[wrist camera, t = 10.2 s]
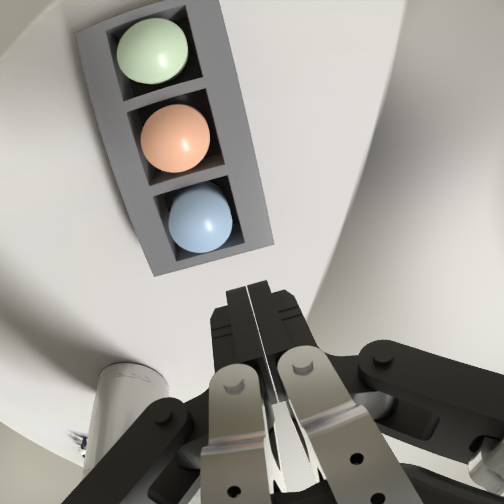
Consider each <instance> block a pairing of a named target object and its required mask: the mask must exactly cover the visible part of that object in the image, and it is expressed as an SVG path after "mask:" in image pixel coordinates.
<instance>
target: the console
mask: <svg viewBox="0 0 504 504" xmlns="http://www.w3.org/2000/svg"><path fill="white" fill-rule="evenodd" d="M151 18H161V19H166V20H169V21H171V22H172V21H176V20H180V19H184V18H188V22H189V26H190V30H191V34H192V38H193V42H194V47H195V51H196V55H197V59H198V63H199V67H200V71H201V75H202V78H198V79H194V80H190V81H187V82H183V83H179V84H176V85H172V86H169V87H166V88H163V89H159V90H156V91H153V92H150V93H147V94H144V95H141V96H138V97H135V98H134V97H133V93H132V89H131V86H130V82H129V78H128V77H127V76H126V75H125V74H124V73H123V72H122V70H121V69H120V67H119V64H118V61H117V48H118V45H119V39H120V38H122V36H123V35H124V34H125V32H126V31H127V30H128V29H129V28H131V27H132V26H133V25H135V24H136V23H138V22H140V21H143V20H146V19H151ZM75 37H76V42H77V46H78V51H79V55H80V60H81V64H82V68H83V72H84V76H85V80H86V84H87V88H88V91H89V95H90V99H91V102H92V106H93V110H94V113H95V116H96V120H97V123H98V127H99V130H100V133H101V136H102V140H103V143H104V146H105V149H106V152H107V155H108V158H109V161H110V164H111V167H112V170H113V173H114V176H115V179H116V182H117V184H118V187H119V190H120V193H121V196H122V198H123V201H124V204H125V206H126V209H127V212H128V214H129V217H130V220H131V222H132V225H133V227H134V230H135V232H136V235H137V237H138V240H139V242H140V245H141V247H142V250H143V252H144V254H145V257H146V259H147V261H148V264H149V266H150V269H151V271H152V273H153V275H154V277H156V276H159V275H163V274H167V273H170V272H174V271H178V270H182V269H185V268H189V267H193V266H196V265H200V264H204V263H208V262H211V261H215V260H219V259H222V258H226V257H230V256H234V255H237V254H241V253H245V252H249V251H252V250H256V249H260V248H264V247H267V246H271V245H274V240H273V235H272V230H271V226H270V221H269V216H268V211H267V206H266V202H265V197H264V192H263V188H262V183H261V178H260V174H259V169H258V165H257V160H256V155H255V151H254V146H253V142H252V137H251V133H250V129H249V124H248V120H247V115H246V111H245V107H244V102H243V98H242V94H241V89H240V85H239V81H238V77H237V72H236V68H235V64H234V60H233V56H232V52H231V47H230V43H229V39H228V35H227V31H226V27H225V23H224V19H223V15H222V11H221V7H220V3H219V0H164V1H160V2H157V3H153V4H150V5H147V6H144V7H141V8H137V9H134V10H132V11H129V12H126V13H123V14H120V15H118V16H115V17H112V18H110V19H107V20H105V21H102V22H100V23H97V24H95V25H93V26H90V27H88V28H86V29H83V30H81V31H79V32H77V33H75ZM203 89H205V91H206V95H207V99H208V103H209V107H210V111H211V115H212V119H213V123H214V127H215V131H216V135H217V138H218V142H219V146H220V150H221V154H219V155H215V156H211V157H208V158H204V159H202V160H201V161H200V162H199V163H198V164H197V165H196V166H194V167H193V168H191V169H189V170H186V171H183V172H176V173H174V172H166V171H160V172H156V171H155V168H154V166H153V165H152V164H151V163H150V162H149V161H148V160H147V158H146V157H145V155H144V153H143V150H142V147H141V133H142V130H143V129H142V125H141V122H140V118H139V115H138V111H137V109H139V108H142V107H145V106H148V105H151V104H154V103H157V102H161V101H164V100H167V99H170V98H174V97H177V96H181V95H184V94H188V93H191V92H195V91H199V90H203ZM226 175H227V178H228V182H229V186H230V190H231V194H232V198H233V202H234V205H235V209H236V213H237V217H238V221H239V223H236V224H233V225H232V229H231V233H230V235H229V237H228V239H227V240H226V241H225V242H224V243H223V244H222V245H221V246H220V247H218V248H217V249H215V250H212V251H209V252H205V253H195V252H191V251H188V250H185V249H183V248H182V247H180V246H179V245H178V244H177V243H176V242H175V241H174V240H173V238H172V236H171V234H170V231H169V216H170V214H169V211H168V208H167V205H166V202H165V199H164V196H163V193H166V192H169V191H172V190H176V189H179V188H183V187H186V186H190V185H193V184H197V183H200V182H204V181H207V180H211V179H215V178H219V177H222V176H226Z"/></svg>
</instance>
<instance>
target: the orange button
mask: <svg viewBox="0 0 504 504" xmlns="http://www.w3.org/2000/svg"><path fill="white" fill-rule="evenodd" d="M209 143H210V133H209V128H208V125H207V122H206V119H205V117H204V116H203V114H202V113H201V112H200V111H199V110H197V109H196V108H194V107H193V106H190V105H187V104H172V105H169V106H166V107H164V108H161V109H159V110H158V111H156V112H155V113H153V114H152V115H151V116H150V117H149V119H148V120H147V121H146V123H145V125H144V127H143V130H142V133H141V147H142V150H143V153H144V155H145V157H146V158H147V160H148V161H149V162H150V163H151V164H152V165H153V166H155V167H156V168H158V169H160V170H162V171H166V172H174V173H176V172H183V171H186V170H189V169H191V168H193V167H194V166H196V165H197V164H198V163H199V162H200V161H201V160H202V159H203V157H204V156H205V154H206V152H207V150H208V147H209Z"/></svg>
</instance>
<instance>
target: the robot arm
mask: <svg viewBox="0 0 504 504" xmlns="http://www.w3.org/2000/svg"><path fill="white" fill-rule="evenodd" d="M247 287H248V291H249V295H250V299H251V302H252V306H253V310H254V313H255V317H256V321H257V325H258V328H259V332H260V336H261V339H262V343H263V347H264V351H265V354H266V358H267V361H268V365H269V368H270V371H271V375H272V378H273V382H274V385H275V388H276V392H277V395H278V399H279V402H282V401H286V404H287V407H288V410H289V413H290V417H291V421H292V424H293V426H294V428H295V431H296V433H297V436H298V438H299V441H300V443H301V446H302V448H303V450H304V453H305V455H306V458H307V460H308V463H309V465H310V467H311V470H312V473H313V476H314V479H315V482H316V484H315V485H313V486H311V487H309V488H307V489H306V490H303V491H300V492H287V488H286V484H285V480H284V476H283V471H282V466H281V459H280V453H279V446H278V441H277V434H276V428H275V423H274V421H275V418H274V413H273V409H272V406H271V405H272V404H276V403H277V399H276V395H275V392H274V388H273V384H272V381H271V377H270V373H269V370H268V366H267V362H266V358H265V355H264V351H263V347H262V344H261V340H260V336H259V332H258V329H257V325H256V322H255V318H254V315H253V311H252V308H251V304H250V301H249V297H248V294H247V290H246V287H245V286H244V287H240V288H236V289H232V290H229V291H226V297H227V303H228V305H227V306H223V307H219V308H215V310H214V312H213V314H212V316H211V318H210V324H211V336H212V347H213V358H214V368H215V374H214V376H213V377H212V379H211V380H210V384H209V388H208V389H207V390H206V391H205V392H204V393H202V394H201V395H199V396H197V397H195V398H193V399H191V400H189V401H187V402H185V403H183V402H182V401H180V400H178V399H176V398H172V397H169V389H168V384H167V382H166V380H165V379H164V378H163V377H162V376H161V375H160V374H158V373H157V372H156V371H154V370H152V369H150V368H148V367H145V366H142V365H138V364H132V363H118V364H113V365H110V366H108V367H106V368H105V369H104V370H103V371H102V372H101V374H100V377H99V381H98V386H97V391H96V396H95V400H94V405H93V411H92V416H91V422H90V428H89V434H88V440H87V446H86V453H85V461H84V469H83V478H82V481H81V482H80V484H79V485H78V486H77V487H76V488H75V489H74V490H73V491H72V492H71V494H70V495H69V496H68V497H67V498H66V499H65V500H64V501H63V502H62V503H61V504H188V503H189V502H190V501H191V499H192V498H193V497H194V495H195V494H196V493H197V491H198V490H199V489H200V496H201V504H504V375H502V374H499V373H495V372H492V371H489V370H485V369H482V368H478V367H475V366H471V365H468V364H465V363H461V362H458V361H454V360H451V359H448V358H445V357H441V356H438V355H435V354H432V353H428V352H425V351H422V350H419V349H416V348H413V347H410V346H406V345H403V344H400V343H397V342H394V341H391V340H377V341H373V342H371V343H369V344H367V345H366V346H365V347H363V348H362V350H361V351H360V353H359V355H356V356H333V355H330V354H327V353H325V352H323V351H322V350H321V349H320V348H319V347H318V346H317V344H316V342H315V340H314V338H313V336H312V333H311V331H310V329H309V327H308V325H307V323H306V320H305V318H304V316H303V315H302V312H301V310H300V308H299V305H298V303H297V301H296V299H295V297H294V296H293V295H292V294H290V293H289V292H287V291H286V290H281V291H278V292H274V293H271V290H270V288H269V285H268V282H267V280H265V281H261V282H258V283H254V284H251V285H247ZM382 433H383V434H385V435H388V436H390V437H393V438H395V439H398V440H401V441H403V442H405V443H408V444H410V445H413V446H416V447H418V448H421V449H424V450H426V451H429V452H432V453H435V454H437V455H440V456H443V457H446V458H449V459H452V460H455V461H458V462H462V463H464V464H468V471H469V475H470V477H471V479H472V480H473V481H474V482H475V483H476V484H478V485H480V486H482V487H484V488H485V489H486V490H487V491H488V492H487V491H484V490H481V489H478V488H475V487H472V486H469V485H467V484H464V483H461V482H458V481H455V480H453V479H450V478H448V477H445V476H443V475H440V474H437V473H435V472H432V471H430V470H427V469H425V468H422V467H419V466H416V465H412V464H405V463H399V462H398V460H397V458H396V457H395V455H394V453H393V452H392V450H391V448H390V447H389V445H388V443H387V442H386V440H385V438H384V437H383V435H382Z"/></svg>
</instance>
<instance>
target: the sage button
mask: <svg viewBox="0 0 504 504" xmlns="http://www.w3.org/2000/svg"><path fill="white" fill-rule="evenodd" d="M188 56H189V50H188V45H187V41H186V38H185V35H184V33H183V31H182V30H181V29H180V28H179V27H178V26H177V25H176V24H175V23H173V22H171V21H169V20H166V19H161V18H151V19H146V20H143V21H140V22H138V23H136V24H135V25H133V26H132V27H131V28H129V29H128V30H127V31H126V32H125V34H124V35H123V36H122V38H121V40H120V42H119V45H118V48H117V61H118V64H119V67H120V69H121V70H122V72H123V73H124V74H125V75H126V76H127V77H129V78H130V79H132V80H134V81H137V82H141V83H146V84H163V83H166V82H169V81H171V80H173V79H174V78H176V77H177V76H178V75H179V74H180V73H181V72H182V71H183V69H184V68H185V66H186V64H187V61H188Z"/></svg>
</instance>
